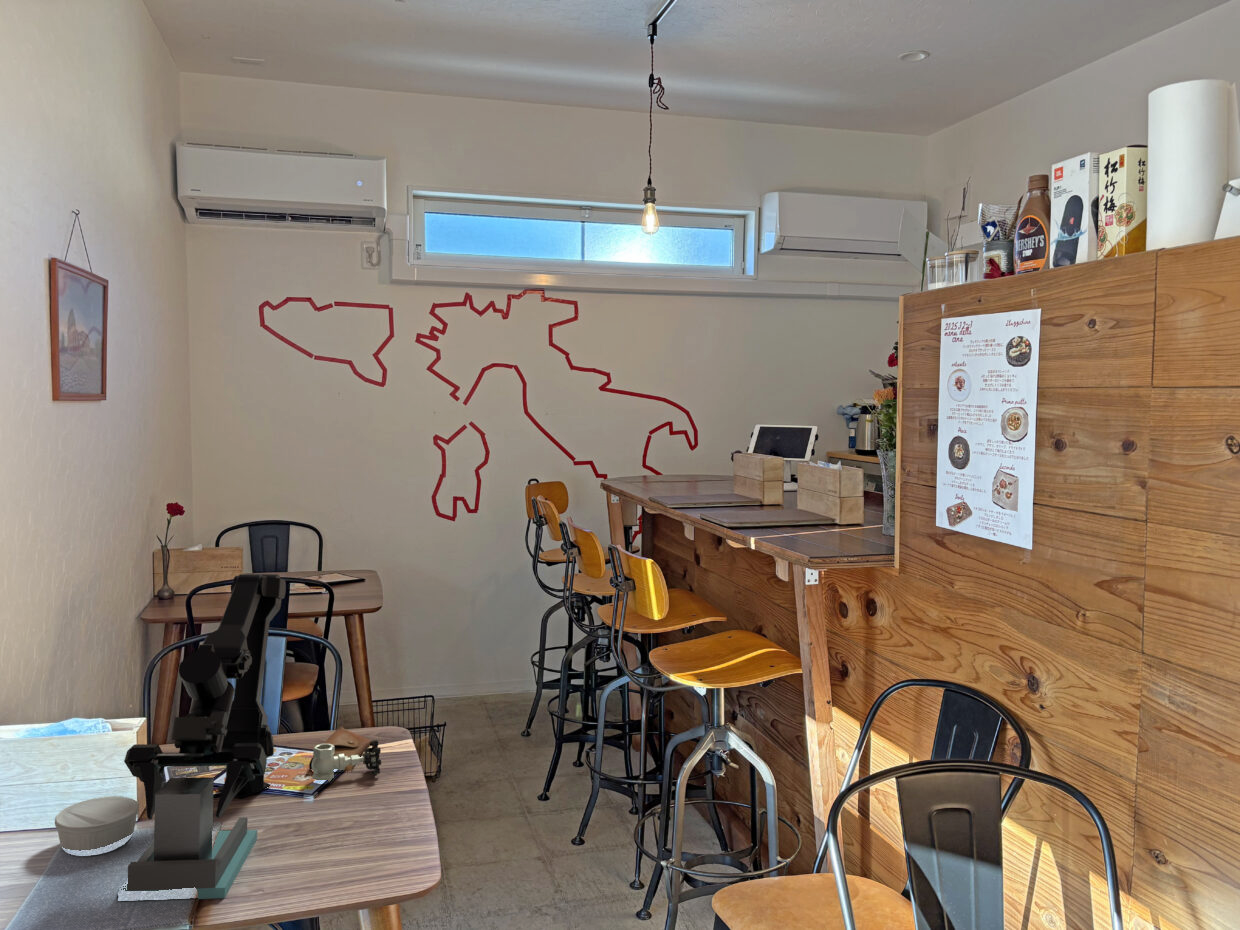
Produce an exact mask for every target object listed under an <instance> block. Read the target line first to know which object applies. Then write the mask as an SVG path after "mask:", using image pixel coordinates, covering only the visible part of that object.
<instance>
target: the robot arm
mask: <svg viewBox="0 0 1240 930" xmlns="http://www.w3.org/2000/svg"><path fill="white" fill-rule="evenodd" d="M286 585H287V584H286V580H285V579H283V578H281V576H280V574H278V573H241V574H238V575H235V576H234V577H233V581H232V592H231V595H230V598H229V599H228V603H227V605H226V608H225V611H224V613H223V615H222V618H221V621H220V623H219V626H218V628H217V629H216V630H214V631H213V632H211V633H210V634H208V635H207V636H206V637H205V639H204V640H203V642H202V644H199V645H198V648H197V650H196V651H193V652H191V653H190V654H188V655H187V656H186V657H184V659H183V660H182V661H181V662H180V664H179V666H178V674H179V676H180V678H181V681H182V683H183V686H184V687H185V690H186V692H187V695H188V696H189V698H191V699H192V702H191V705H190V709H189V712H188V713H186V715H185V716H177V717H174V718H173V723H172V729H171V735H170V741H174V747H175V748H176V749H179V751H178V752H163V750H162V748H161V747H160V745H159V744H158V743H155V744H154V743H152V744H148V743H146V744H137V743H136V744H133V745H132V746H131V747H130V748H129V749H127V751H126V753H125V757H124V761H123V762H124V763H125V765H126V767H127V768H128V769H129V772H130V774H131V775H132V777H135V778H138V780H139V781H140V782H141V783H143V785H144V794H145V806H146V818H147V819H148V820H153V817H154V816H155V794H156V793H157V792H158V791H159V790H160V789H161V788H162V787H163V786H162V785H163V781H164V779H163V777H162V775H161V774H162V773H164V770H165V768H166V767H219V766H220V767H222V766H225V780H224V783H223V784H222V785H220V786H218V787H217V791H220V795H219V798H218V801H217V805H216V811H215V817H216V818H217V819H218V818H219V819H220V818H221V816H223V813H224V812H225V811H226V810H227V808H228V806H229V805H230V804H231V803H232V801H233V799H234V798H237V799H243V798H245V797H248V796H251V795H254V794H256V793H259V792H262V791H264V790H266V789H265V788H267V787H269V786H270V787H271V784H270V783H268V782H266V781H265V774H266V769H267V768H266V767H267V763H268V762H267V761H268V758H270V757H273V756H274V754H275V750H274V749H275V747H274V746H275V745H274V737H273V734H272V731H271V728H270V726H269V724H268V715H267V713H266V711H265V709H264V707H263V705H262V703H261V697H262V690H263V681H264V680H263V679H264V673H265V664H266V657H267V655H266V654H267V648H268V640H269V639H268V638H269V629H270V623H271V621H272V620H273V619H274V618H275V616H276V615H277V614H278V613H279V611H280V610H281V606H282V605H281V604H282V599H285V596H286V591H287V590H286V588H287V586H286ZM229 679H235V686H234V685H233V684H232V682H230V681H229ZM263 789H264V790H263ZM267 789H268V788H267Z"/></svg>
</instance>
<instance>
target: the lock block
mask: <svg viewBox="0 0 1240 930" xmlns="http://www.w3.org/2000/svg"><path fill="white" fill-rule="evenodd" d="M214 778H215V777H211V776H209V777H208V776H207V777H205V776H204V777H200V776H199V777H170V778H169V779H168V780H166V782H165V783H164V784H162V785H163V786H161V789H160V790H159V791H158V792H157V793H156V794H155V812H154V826H153V827H154V830H153V831H154V832H153V841H154V861H173V860H206V859H212V831H213V822H214V821H213V820H214V819H213V816H214V814H213V813H214V786H215V785H214Z"/></svg>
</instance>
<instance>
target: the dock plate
mask: <svg viewBox="0 0 1240 930" xmlns="http://www.w3.org/2000/svg"><path fill="white" fill-rule="evenodd" d="M218 831H219V833H218V835H217V838H216V840H215V844H214V847H213V850H212V859H206V860H173V861H154V840H152V842H151V843H150V845H149V846H148V847H147V848H146V849H145V851H144V852H142V854H141V856H140V857H139V858H138V859H137V861H130V863H128V865H127V878H128V884H127V890H126V888H123V890H124V889H125V891H159V890H169V889H170V890H172V889H182V888H194V887H195V888H196V889H197V891H198V899H197V900H210V899H211V900H213V899H226V896H227V895H228V893H229V891H230V889H231V887H232V886H233V884H234V882H235V880H236V878H237V876H238V874H239V873H240V871H241V869H242V868H243V866H244V865H245V862H246V861H247V859H248V856H249V855H250V853H251V851H252V849H253V848H254V845H255V843H256V842H257V839H258V829H248V817H247V816H246V817H244V816H243V817H241V816H240V817H239V818H238V819H237V821H236V822H235V824H234V825H233V827H232V829H231V830H218ZM125 884H126V883H125ZM123 887H124V886H123ZM125 887H126V886H125ZM119 888H121V886H120V887H119ZM121 890H122V889H121ZM117 891H119V889H117Z"/></svg>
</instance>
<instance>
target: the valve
mask: <svg viewBox="0 0 1240 930" xmlns="http://www.w3.org/2000/svg"><path fill="white" fill-rule="evenodd" d="M334 751H335V746H334V745H332V744H324V743H320V744H317V745H315V746H314V747H313V751H312V753H313V754H312V758H313V757H314V758H313V761H312V770H313V774H312V779H316V780H328V781H329V782H330V781H331V780H332V778H335V776H334V775H335V773H334V771H333V770H334V769H338V770H344V769H345V766H348V764H351V765H355V766H356V765H357V766H358V765H359V763H363V764H364V765H365V768H366V769H367V770H369V771H370V774H371V773H372V774H375V775H379V774H381V769H380V766H381V765H382V759H381V758H380V754H381V752H382V751H381V747H380V746H379V740H378V739H373V740H372V741H370V746H369V747H368V748H367V749H366V750H365V752H364V753H363V754H362V756H361V757H359V756H358V755H352V756H350V758H348V757H347V756H344V753H342V754H338V755H337V756H333V755H334ZM372 774H371V775H372Z"/></svg>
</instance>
